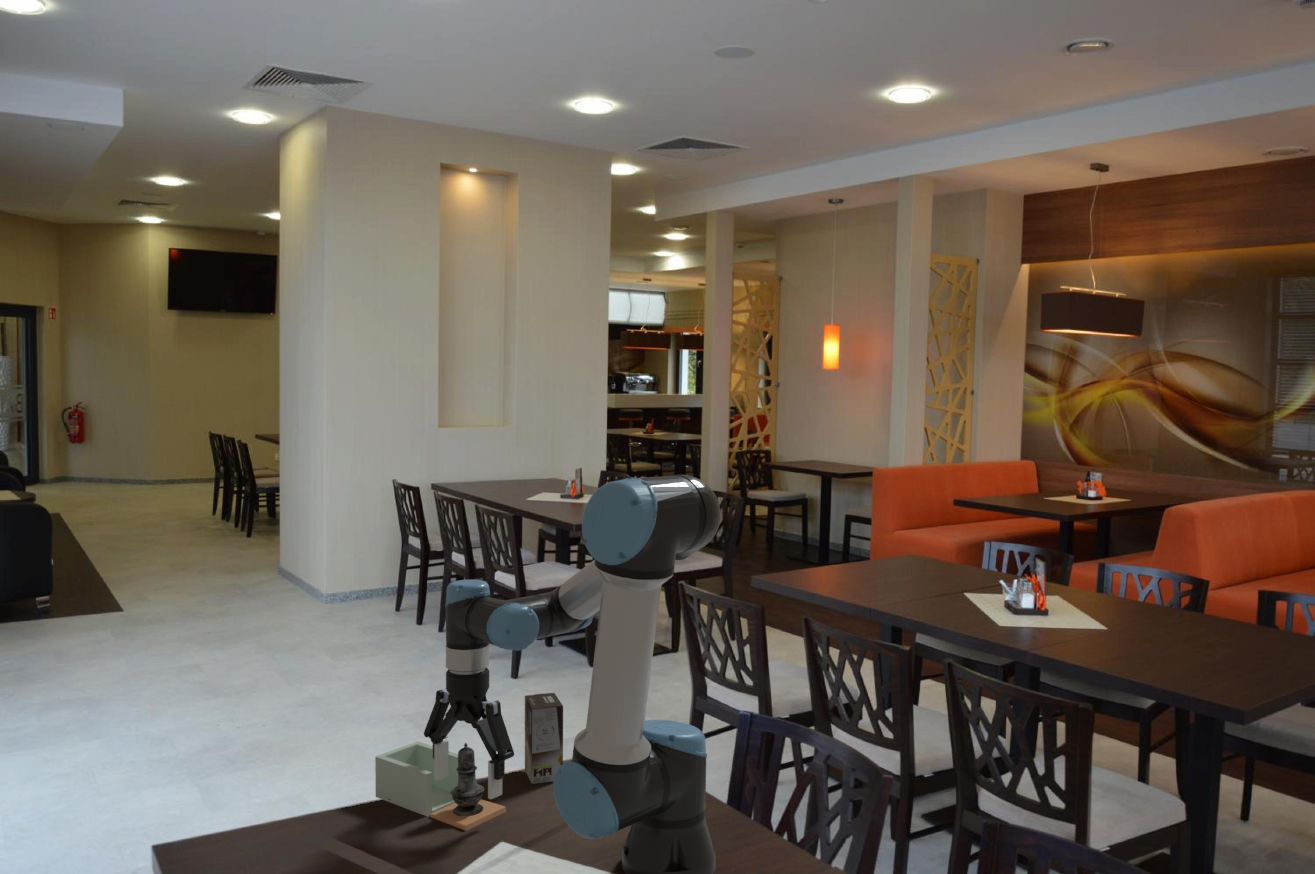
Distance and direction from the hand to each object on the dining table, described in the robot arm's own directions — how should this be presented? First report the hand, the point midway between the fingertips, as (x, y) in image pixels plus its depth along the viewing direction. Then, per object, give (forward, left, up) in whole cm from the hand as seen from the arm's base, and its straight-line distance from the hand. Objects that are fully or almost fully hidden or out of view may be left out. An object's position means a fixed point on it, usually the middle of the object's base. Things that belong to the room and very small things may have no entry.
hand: (467, 787), depth 176 cm
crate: (+12, 0, -6) cm, 14 cm away
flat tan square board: (+4, 0, -5) cm, 6 cm away
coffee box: (+2, -22, -7) cm, 23 cm away
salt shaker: (0, 0, -4) cm, 4 cm away
